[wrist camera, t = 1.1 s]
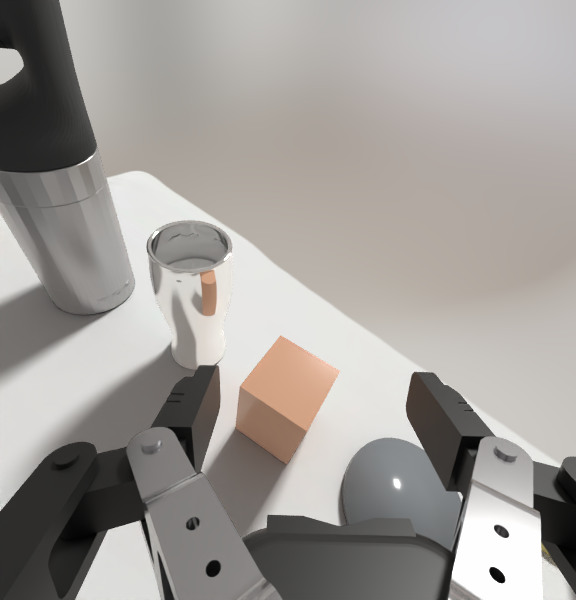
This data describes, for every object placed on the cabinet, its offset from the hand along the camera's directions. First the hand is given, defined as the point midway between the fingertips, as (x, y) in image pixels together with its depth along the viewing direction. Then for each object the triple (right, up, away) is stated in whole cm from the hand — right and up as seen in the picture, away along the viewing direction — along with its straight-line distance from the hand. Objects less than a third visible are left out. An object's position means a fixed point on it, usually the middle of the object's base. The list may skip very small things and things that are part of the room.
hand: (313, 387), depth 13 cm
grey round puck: (+9, -15, +16) cm, 23 cm away
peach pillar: (-2, -9, +19) cm, 21 cm away
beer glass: (-11, -2, +23) cm, 26 cm away
